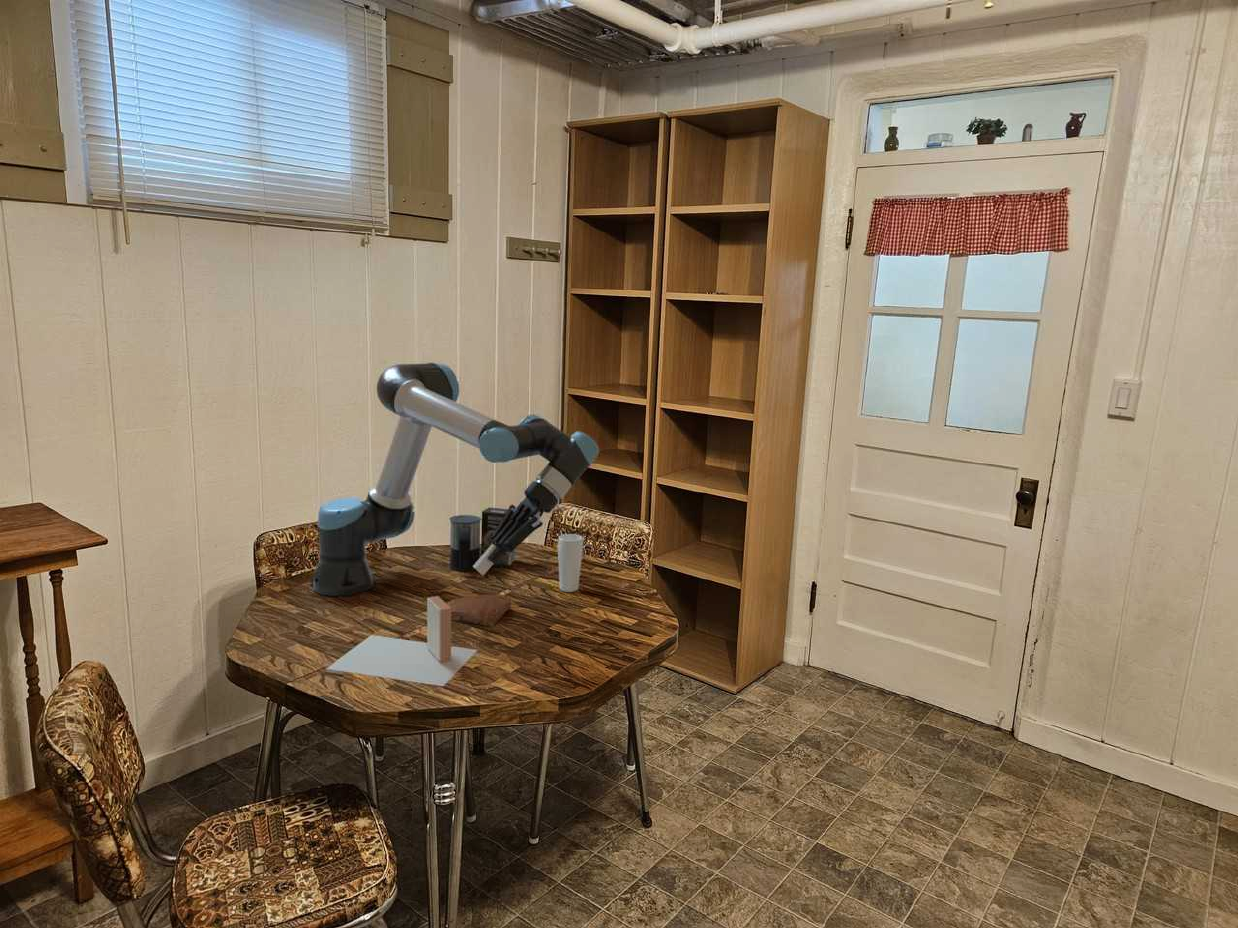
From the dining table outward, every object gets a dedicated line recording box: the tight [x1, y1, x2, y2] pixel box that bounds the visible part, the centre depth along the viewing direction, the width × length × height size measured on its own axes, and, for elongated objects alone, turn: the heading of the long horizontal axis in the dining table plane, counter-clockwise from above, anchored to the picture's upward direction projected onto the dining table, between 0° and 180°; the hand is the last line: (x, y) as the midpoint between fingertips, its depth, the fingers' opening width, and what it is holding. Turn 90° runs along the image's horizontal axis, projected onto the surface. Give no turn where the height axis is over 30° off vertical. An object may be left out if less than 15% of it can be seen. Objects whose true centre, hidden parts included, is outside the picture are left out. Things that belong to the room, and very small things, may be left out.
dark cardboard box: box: [480, 507, 516, 566], centre depth 236 cm, size 9×6×16 cm
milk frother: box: [449, 514, 508, 572], centre depth 230 cm, size 14×16×15 cm
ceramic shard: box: [445, 594, 512, 627], centre depth 195 cm, size 15×6×15 cm
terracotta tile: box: [426, 595, 452, 663], centre depth 170 cm, size 2×8×12 cm, turn 33°
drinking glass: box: [557, 533, 584, 593], centre depth 216 cm, size 7×7×15 cm
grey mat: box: [325, 634, 478, 687], centre depth 168 cm, size 26×18×1 cm
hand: (478, 570), depth 172 cm, fingers closed
